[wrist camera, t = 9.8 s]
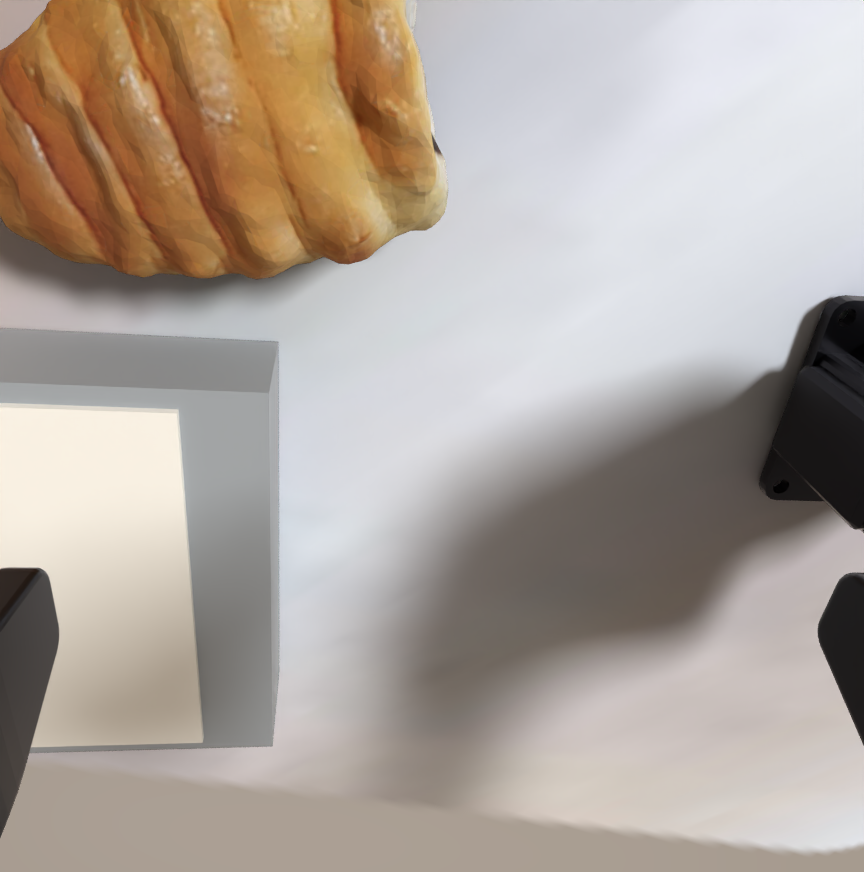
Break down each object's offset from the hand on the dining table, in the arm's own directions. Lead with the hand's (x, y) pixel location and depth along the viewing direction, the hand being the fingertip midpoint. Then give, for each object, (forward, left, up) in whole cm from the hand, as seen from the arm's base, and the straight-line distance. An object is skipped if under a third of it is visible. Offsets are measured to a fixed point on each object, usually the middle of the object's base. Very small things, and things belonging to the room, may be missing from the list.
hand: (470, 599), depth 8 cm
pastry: (+6, -5, -13) cm, 15 cm away
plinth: (+9, +8, -12) cm, 17 cm away
